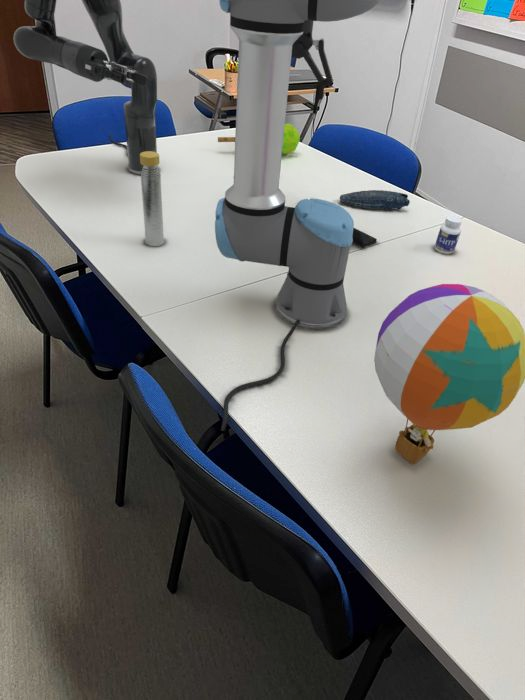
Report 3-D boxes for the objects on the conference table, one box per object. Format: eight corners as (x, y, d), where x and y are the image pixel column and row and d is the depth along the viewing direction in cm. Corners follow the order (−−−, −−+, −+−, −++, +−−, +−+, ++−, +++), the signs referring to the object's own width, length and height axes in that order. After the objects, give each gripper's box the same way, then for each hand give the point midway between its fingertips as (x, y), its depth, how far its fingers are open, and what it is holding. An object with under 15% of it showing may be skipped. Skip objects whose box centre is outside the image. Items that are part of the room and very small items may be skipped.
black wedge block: (381, 233, 141) (372, 211, 133) (369, 255, 140) (359, 235, 132) (344, 225, 147) (334, 203, 139) (333, 246, 146) (321, 226, 138)
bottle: (156, 236, 134) (151, 151, 121) (167, 242, 132) (163, 156, 119) (141, 241, 132) (135, 155, 118) (153, 248, 129) (147, 160, 116)
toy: (323, 444, 83) (359, 283, 64) (398, 394, 94) (448, 243, 75) (425, 531, 72) (504, 368, 53) (497, 463, 83) (584, 307, 64)
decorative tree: (215, 117, 188) (295, 117, 193) (215, 147, 195) (292, 146, 200) (221, 131, 174) (307, 131, 180) (221, 163, 181) (304, 161, 186)
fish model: (408, 214, 157) (412, 198, 153) (339, 207, 158) (341, 191, 154) (406, 206, 162) (410, 190, 159) (339, 199, 163) (341, 183, 160)
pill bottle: (433, 251, 139) (442, 220, 133) (435, 243, 143) (444, 213, 137) (453, 256, 138) (464, 225, 132) (454, 247, 142) (465, 217, 136)
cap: (151, 158, 122) (150, 149, 120) (163, 164, 120) (162, 155, 118) (136, 162, 119) (135, 153, 118) (148, 167, 117) (147, 158, 116)
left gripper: (65, 41, 125) (120, 61, 121) (105, 47, 136) (155, 66, 133) (63, 74, 128) (116, 95, 125) (101, 78, 140) (151, 97, 136)
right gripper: (351, 16, 123) (337, 111, 137) (248, 5, 125) (244, 100, 139) (351, 20, 118) (336, 118, 131) (243, 8, 119) (238, 107, 133)
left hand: (136, 80), depth 129 cm, fingers open, 8 cm apart
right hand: (288, 109), depth 135 cm, fingers open, 13 cm apart
